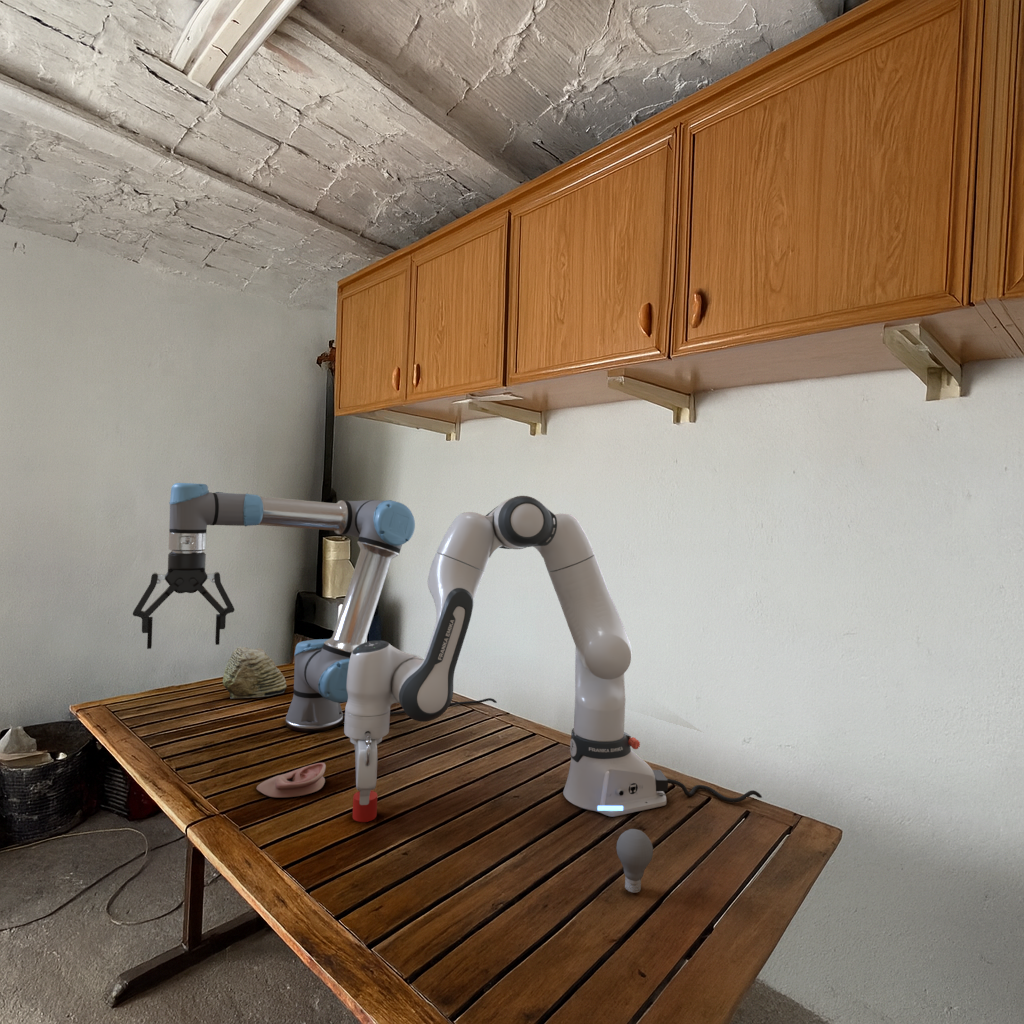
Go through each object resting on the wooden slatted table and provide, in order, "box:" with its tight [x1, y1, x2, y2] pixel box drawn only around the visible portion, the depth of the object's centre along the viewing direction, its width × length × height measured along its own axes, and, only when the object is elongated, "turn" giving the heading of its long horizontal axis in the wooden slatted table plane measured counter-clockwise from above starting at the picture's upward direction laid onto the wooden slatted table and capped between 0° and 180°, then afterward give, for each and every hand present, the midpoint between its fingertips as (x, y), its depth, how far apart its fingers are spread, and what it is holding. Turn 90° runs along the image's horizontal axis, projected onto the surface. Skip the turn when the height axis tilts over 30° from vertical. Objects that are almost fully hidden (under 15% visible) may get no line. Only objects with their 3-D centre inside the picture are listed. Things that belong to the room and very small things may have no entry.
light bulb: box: [615, 828, 654, 894], centre depth 106 cm, size 6×6×10 cm
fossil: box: [222, 646, 288, 699], centre depth 198 cm, size 9×18×15 cm, turn 132°
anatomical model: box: [256, 762, 327, 799], centre depth 137 cm, size 13×4×12 cm
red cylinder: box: [352, 790, 378, 823], centre depth 127 cm, size 5×5×4 cm
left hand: (184, 645), depth 143 cm, fingers open, 13 cm apart
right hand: (363, 792), depth 127 cm, fingers open, 8 cm apart
